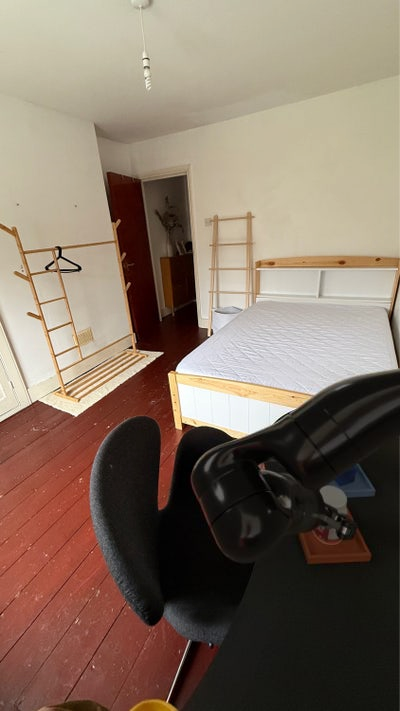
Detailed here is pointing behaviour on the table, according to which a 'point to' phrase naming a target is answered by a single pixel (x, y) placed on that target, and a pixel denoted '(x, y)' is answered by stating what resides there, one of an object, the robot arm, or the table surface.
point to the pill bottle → (339, 502)
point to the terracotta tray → (335, 549)
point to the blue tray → (357, 485)
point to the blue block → (346, 477)
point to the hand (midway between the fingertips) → (318, 505)
